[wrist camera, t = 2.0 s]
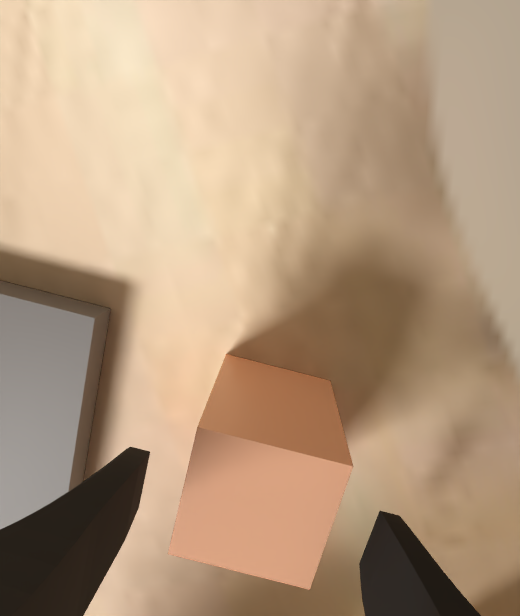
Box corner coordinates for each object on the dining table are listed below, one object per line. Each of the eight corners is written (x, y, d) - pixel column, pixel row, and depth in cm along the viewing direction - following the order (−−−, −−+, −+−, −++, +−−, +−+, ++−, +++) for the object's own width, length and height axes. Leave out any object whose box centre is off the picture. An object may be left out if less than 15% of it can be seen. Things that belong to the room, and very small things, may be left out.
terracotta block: (301, 470, 19) (309, 589, 13) (204, 445, 19) (167, 553, 13) (330, 380, 17) (353, 466, 12) (226, 353, 17) (197, 427, 12)
